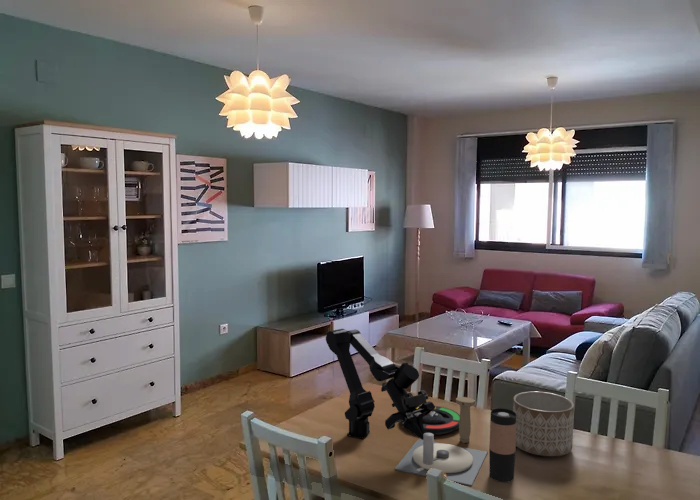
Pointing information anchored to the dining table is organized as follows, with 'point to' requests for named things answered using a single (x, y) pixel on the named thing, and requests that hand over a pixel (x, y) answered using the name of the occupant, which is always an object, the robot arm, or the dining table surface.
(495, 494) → the dining table surface
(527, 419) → the planter
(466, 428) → the handle
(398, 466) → the board
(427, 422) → the electronic game
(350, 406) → the robot arm
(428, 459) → the dial
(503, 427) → the travel mug
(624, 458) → the dining table surface
